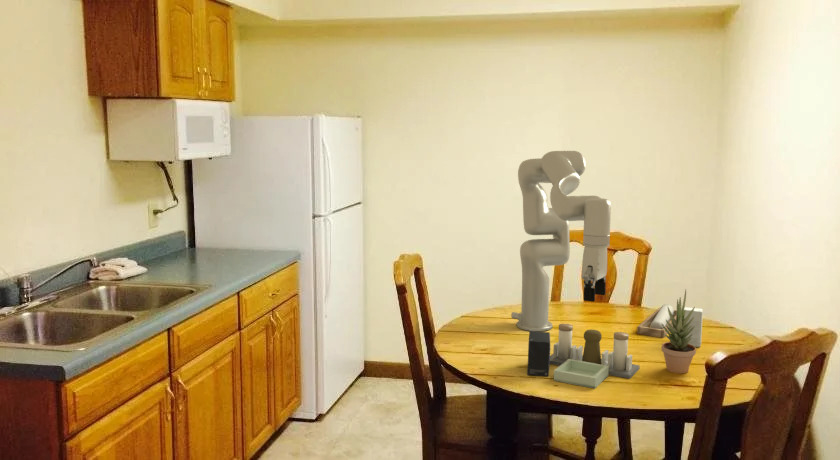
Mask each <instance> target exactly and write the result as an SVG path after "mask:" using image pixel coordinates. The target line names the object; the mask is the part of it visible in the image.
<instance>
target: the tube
mask: <svg viewBox="0 0 840 460" xmlns="http://www.w3.org/2000/svg"><path fill="white" fill-rule="evenodd" d="M668 307H669V309H670V311H671V313H672V315H674V310H675V308H674V306H672V305H671V304H665V303H664V304H662V305H661V307H659V308H660V310H659V312H658V313H657V315H656V317H655V318H654V320H653V321H652V323H651V325H649V328H655V329H663V326H662V324H663V325H664V327H665V326H666V325H667V322H666V320H667V321H668V322H670V321H671V318H670V316H669V313H668Z"/></svg>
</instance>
